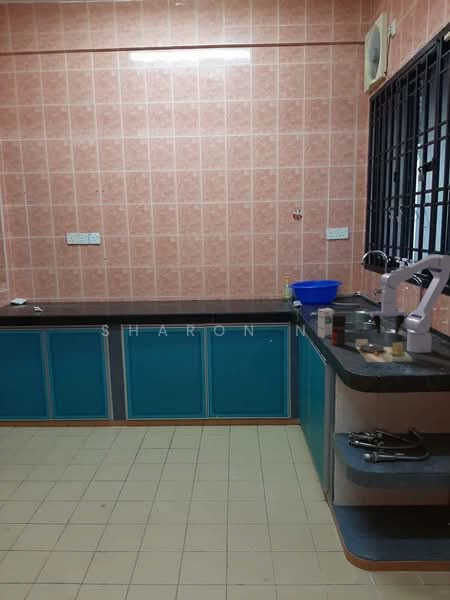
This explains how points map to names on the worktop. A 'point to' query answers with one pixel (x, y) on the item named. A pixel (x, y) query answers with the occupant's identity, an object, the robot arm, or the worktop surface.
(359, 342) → the crank
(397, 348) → the block
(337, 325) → the deodorant
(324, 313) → the syrup box
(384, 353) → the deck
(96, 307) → the worktop surface
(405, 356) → the tray
